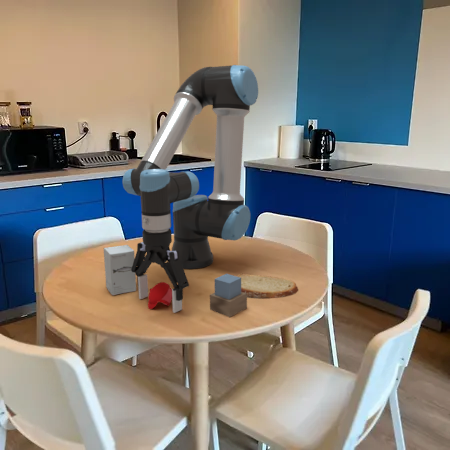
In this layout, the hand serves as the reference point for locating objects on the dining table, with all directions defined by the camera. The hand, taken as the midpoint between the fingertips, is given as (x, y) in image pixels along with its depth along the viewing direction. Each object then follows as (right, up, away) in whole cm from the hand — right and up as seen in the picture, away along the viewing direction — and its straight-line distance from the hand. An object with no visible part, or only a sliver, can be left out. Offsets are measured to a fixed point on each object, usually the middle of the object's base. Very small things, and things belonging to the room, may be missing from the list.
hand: (160, 304), depth 124 cm
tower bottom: (+19, -1, -3) cm, 19 cm away
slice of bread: (+28, +2, +11) cm, 30 cm away
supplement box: (-13, +2, +11) cm, 17 cm away
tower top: (+19, +3, -4) cm, 19 cm away
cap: (0, -1, 0) cm, 0 cm away
